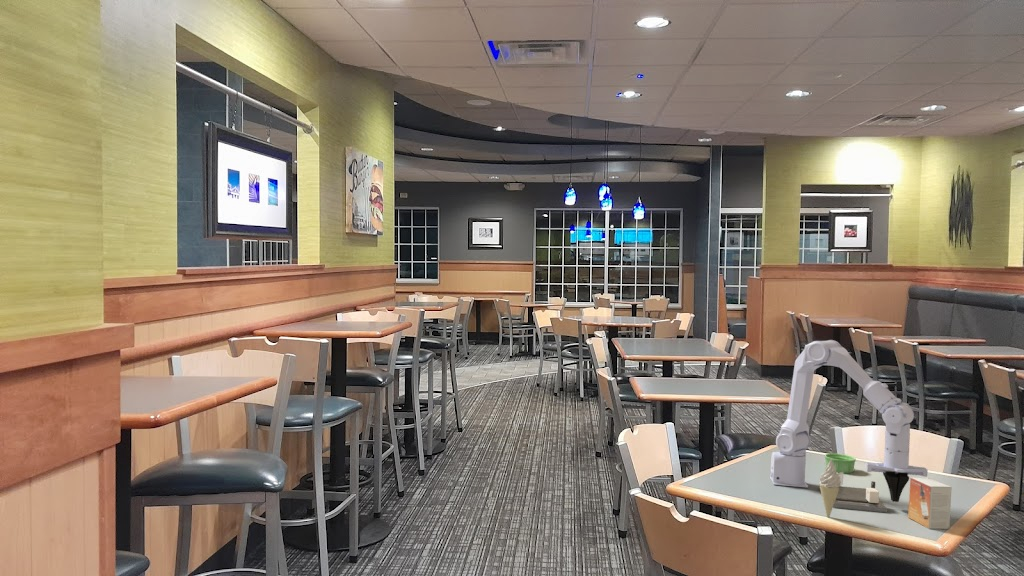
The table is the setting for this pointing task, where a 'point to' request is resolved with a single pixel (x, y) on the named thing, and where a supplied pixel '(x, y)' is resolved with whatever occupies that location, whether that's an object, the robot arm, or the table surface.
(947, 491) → the small box
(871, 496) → the fader knob
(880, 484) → the table surface
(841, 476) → the door
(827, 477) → the ice cream cone
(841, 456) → the ramekin
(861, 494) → the console plate
